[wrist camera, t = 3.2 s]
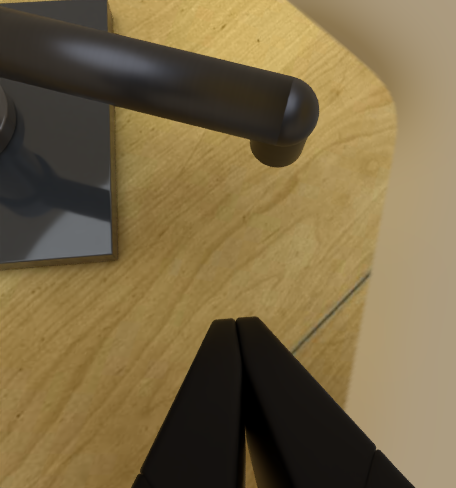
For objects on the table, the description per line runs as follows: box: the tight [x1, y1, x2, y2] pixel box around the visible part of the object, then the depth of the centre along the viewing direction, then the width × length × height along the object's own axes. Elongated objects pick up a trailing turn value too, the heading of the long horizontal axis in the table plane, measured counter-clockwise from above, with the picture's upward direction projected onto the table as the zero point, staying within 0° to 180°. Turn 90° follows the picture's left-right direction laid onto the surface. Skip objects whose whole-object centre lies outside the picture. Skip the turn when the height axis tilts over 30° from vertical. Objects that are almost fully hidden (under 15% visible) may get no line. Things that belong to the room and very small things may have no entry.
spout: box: [0, 6, 319, 167], centre depth 13 cm, size 18×4×3 cm, turn 75°
